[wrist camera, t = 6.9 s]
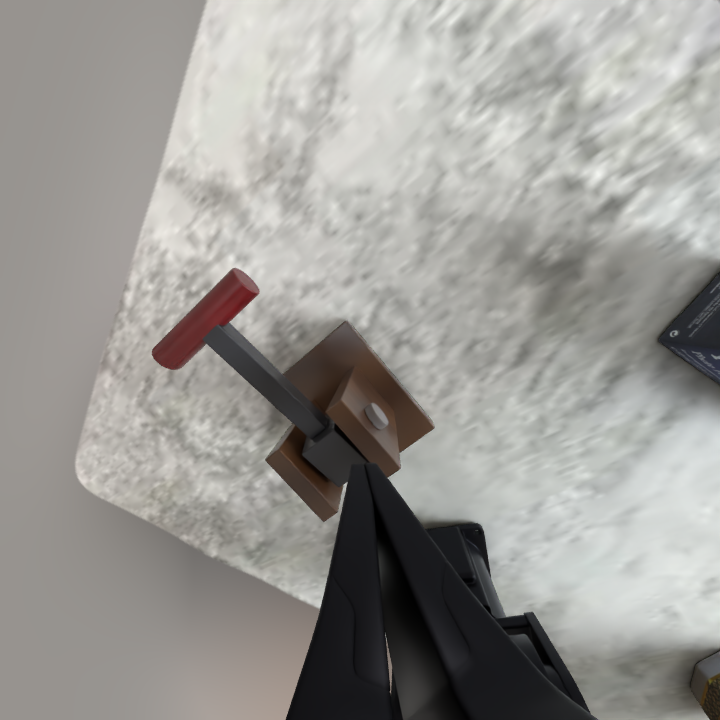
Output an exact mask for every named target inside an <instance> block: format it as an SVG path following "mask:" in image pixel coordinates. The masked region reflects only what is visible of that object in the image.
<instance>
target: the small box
mask: <svg viewBox="0 0 720 720" xmlns="http://www.w3.org/2000/svg"><path fill="white" fill-rule="evenodd" d="M659 342H660V343H662V344H663V345H664V346H666V347H667V348H669V349H670V350H671V351H673V352H674V353H676V354H677V355H678V356H680V357H681V358H683V359H684V360H686V361H687V362H688V363H690V364H691V365H693V366H694V367H695V368H697V369H698V370H699V371H701V372H703V373H704V374H705V375H707V376H708V377H710V378H711V379H712V380H714V381H715V382H717V383H718V384H720V273H719V274H718V275H717V276H716V278H715V279H714V280H713V281H711V283H710V284H709V285H708V286H707V287H706V288H705V290H704V291H703V292H702V293H701V294H700V295H699V296H698V297H697V298H696V299H695V300H694V301H693V302H692V303H691V304H690V305H689V306H688V307H687V309H686V310H685V311H684V312H683V313H682V314H681V315H680V316H679V317H677V318H676V320H675V321H674V322H673V323H672V324H671V325H670V327H669V328H668V329H667V330H666V331H665V332H664V333H663V335H662V336H661V337H660V338H659Z"/></svg>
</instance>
